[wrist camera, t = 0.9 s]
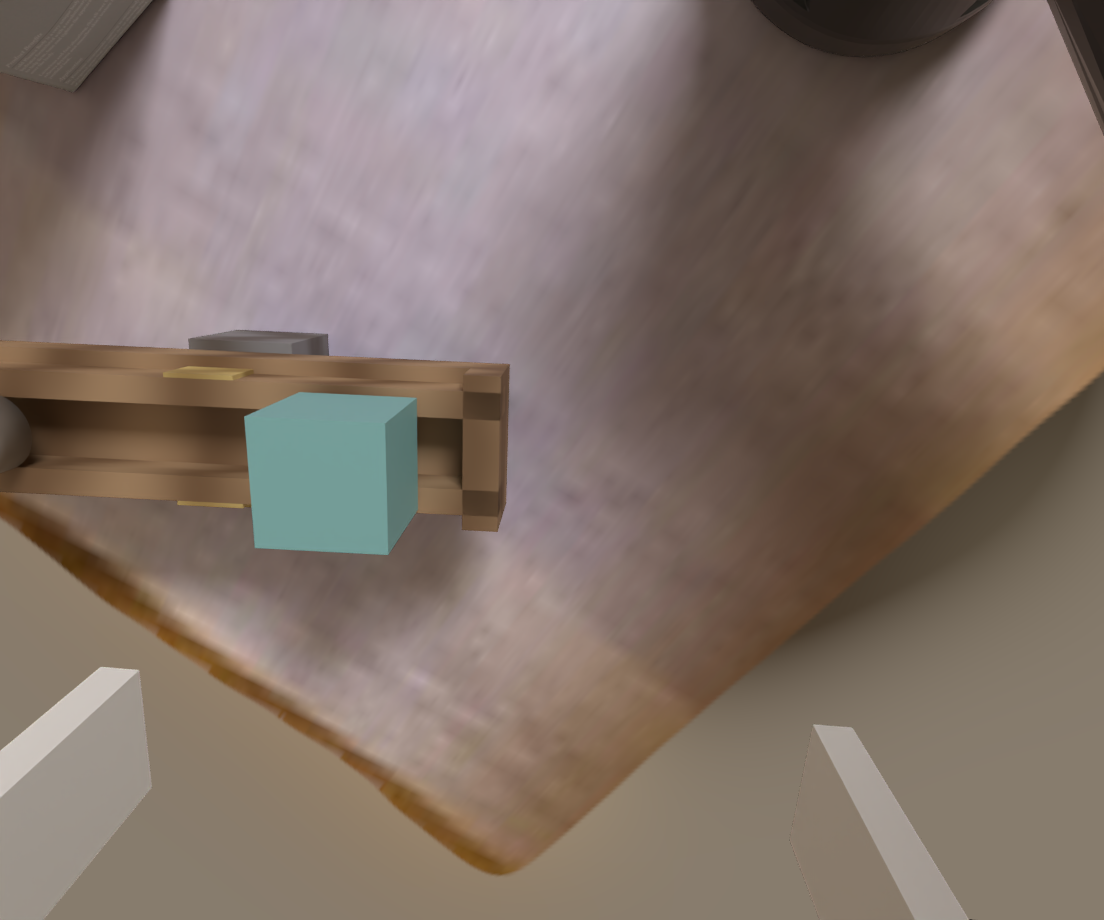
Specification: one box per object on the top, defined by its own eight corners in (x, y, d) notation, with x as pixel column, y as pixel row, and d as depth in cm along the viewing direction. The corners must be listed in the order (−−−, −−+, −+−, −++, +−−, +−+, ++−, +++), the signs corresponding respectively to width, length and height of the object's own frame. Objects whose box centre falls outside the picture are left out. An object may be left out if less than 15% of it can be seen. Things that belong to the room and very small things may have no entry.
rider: (427, 389, 31) (385, 423, 24) (427, 494, 32) (388, 554, 25) (317, 384, 31) (244, 416, 24) (322, 488, 32) (254, 548, 25)
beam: (518, 342, 37) (489, 379, 25) (514, 482, 39) (486, 581, 27) (50, 321, 38) (-209, 346, 25) (71, 460, 40) (-158, 546, 27)
